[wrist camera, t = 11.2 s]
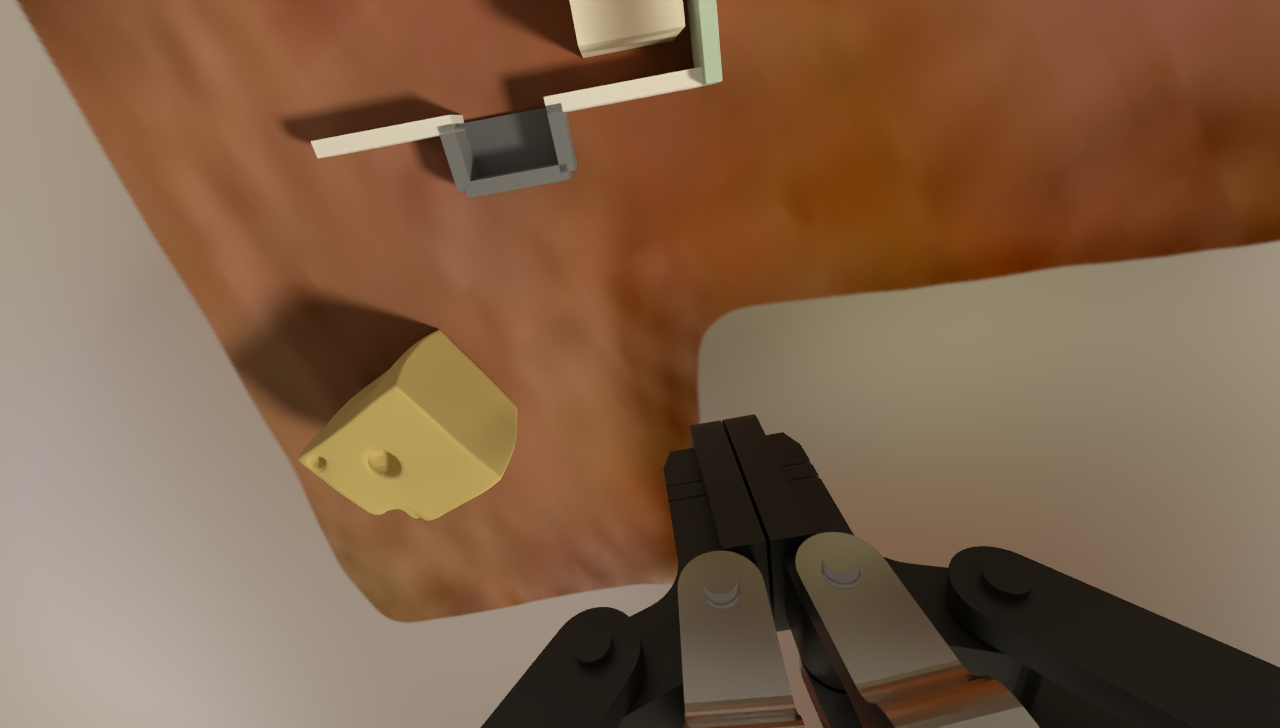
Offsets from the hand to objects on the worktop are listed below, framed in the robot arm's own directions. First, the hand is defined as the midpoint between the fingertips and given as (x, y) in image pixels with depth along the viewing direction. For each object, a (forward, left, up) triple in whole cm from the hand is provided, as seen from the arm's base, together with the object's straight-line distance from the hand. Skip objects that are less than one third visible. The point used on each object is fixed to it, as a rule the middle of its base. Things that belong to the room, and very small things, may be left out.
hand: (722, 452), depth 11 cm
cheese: (+20, +12, -29) cm, 37 cm away
